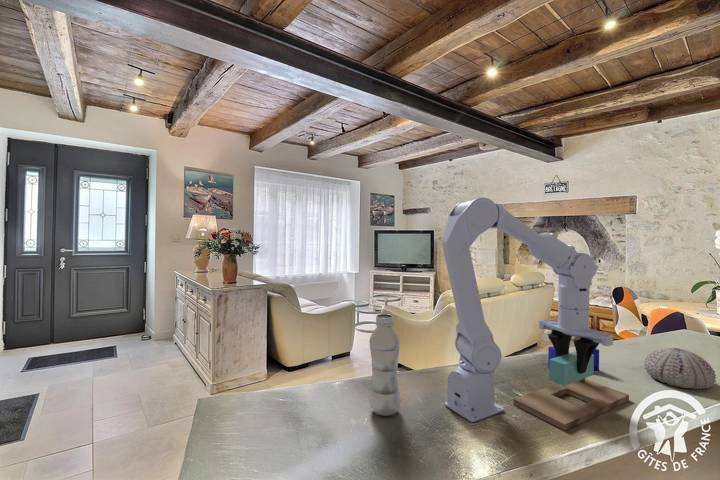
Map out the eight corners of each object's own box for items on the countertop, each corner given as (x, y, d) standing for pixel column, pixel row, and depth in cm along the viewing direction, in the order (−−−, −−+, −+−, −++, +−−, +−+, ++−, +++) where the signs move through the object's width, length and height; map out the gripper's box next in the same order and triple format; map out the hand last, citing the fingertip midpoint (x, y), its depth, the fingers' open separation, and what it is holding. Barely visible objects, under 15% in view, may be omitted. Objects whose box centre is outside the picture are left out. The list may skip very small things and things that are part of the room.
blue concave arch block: (558, 375, 89) (558, 352, 89) (548, 368, 93) (548, 346, 93) (603, 374, 89) (603, 352, 89) (590, 367, 94) (591, 346, 94)
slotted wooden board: (564, 430, 64) (565, 398, 64) (513, 404, 74) (513, 376, 73) (630, 399, 76) (630, 372, 75) (578, 380, 85) (579, 356, 85)
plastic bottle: (375, 422, 67) (374, 321, 66) (365, 405, 73) (365, 313, 73) (405, 417, 68) (405, 319, 68) (393, 401, 75) (393, 311, 74)
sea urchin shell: (732, 391, 80) (733, 357, 80) (685, 395, 78) (685, 361, 77) (671, 368, 93) (672, 339, 93) (629, 372, 91) (630, 342, 90)
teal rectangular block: (564, 385, 70) (564, 364, 70) (549, 379, 73) (549, 359, 73) (593, 374, 75) (593, 354, 75) (578, 369, 78) (578, 350, 78)
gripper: (621, 311, 69) (620, 377, 70) (552, 299, 82) (551, 355, 83) (602, 316, 66) (601, 385, 66) (533, 302, 79) (533, 360, 79)
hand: (572, 369), depth 74 cm, fingers closed on teal rectangular block, 3 cm apart
